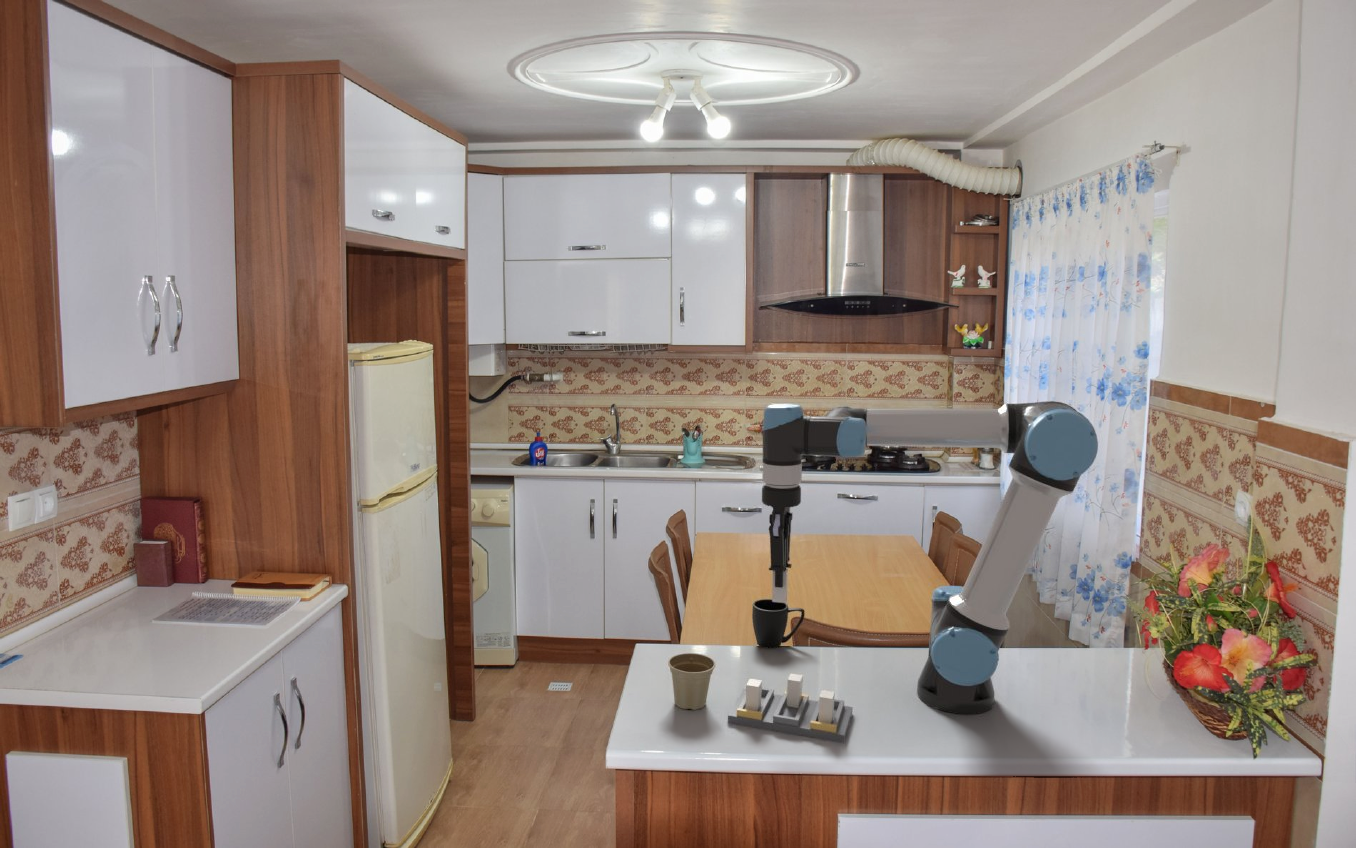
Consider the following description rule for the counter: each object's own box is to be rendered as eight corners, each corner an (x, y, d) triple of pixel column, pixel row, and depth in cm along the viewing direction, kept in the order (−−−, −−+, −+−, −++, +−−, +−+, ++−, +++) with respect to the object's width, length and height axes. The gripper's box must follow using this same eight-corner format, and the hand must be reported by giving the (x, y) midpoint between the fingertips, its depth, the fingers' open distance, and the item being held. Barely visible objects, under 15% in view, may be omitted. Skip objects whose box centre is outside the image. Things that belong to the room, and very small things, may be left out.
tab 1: (760, 707, 176) (762, 680, 175) (757, 714, 173) (758, 686, 172) (748, 705, 177) (749, 678, 176) (745, 711, 174) (746, 684, 173)
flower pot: (721, 699, 183) (722, 658, 181) (702, 718, 174) (704, 676, 173) (679, 689, 187) (680, 649, 185) (658, 708, 178) (659, 666, 177)
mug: (803, 653, 207) (805, 613, 205) (750, 649, 208) (752, 610, 206) (802, 639, 215) (804, 600, 213) (751, 636, 216) (752, 597, 214)
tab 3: (833, 719, 172) (834, 692, 171) (830, 726, 169) (832, 698, 168) (820, 717, 173) (822, 690, 172) (818, 724, 170) (819, 696, 169)
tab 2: (801, 701, 179) (802, 675, 178) (798, 708, 176) (800, 681, 175) (789, 699, 180) (790, 673, 179) (786, 706, 177) (787, 679, 176)
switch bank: (852, 714, 178) (852, 701, 177) (843, 743, 166) (844, 729, 166) (742, 696, 184) (743, 683, 184) (727, 722, 173) (728, 709, 172)
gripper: (768, 476, 183) (766, 589, 186) (755, 490, 170) (754, 610, 174) (805, 478, 181) (803, 592, 184) (795, 492, 168) (793, 614, 172)
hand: (779, 601), depth 179 cm, fingers closed
